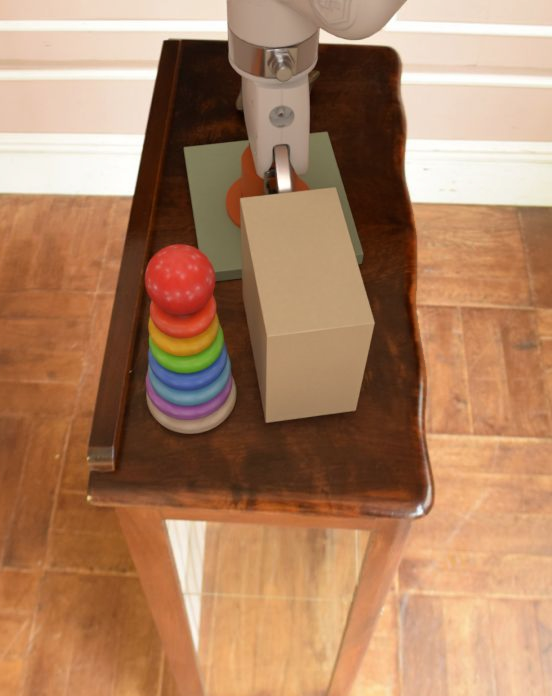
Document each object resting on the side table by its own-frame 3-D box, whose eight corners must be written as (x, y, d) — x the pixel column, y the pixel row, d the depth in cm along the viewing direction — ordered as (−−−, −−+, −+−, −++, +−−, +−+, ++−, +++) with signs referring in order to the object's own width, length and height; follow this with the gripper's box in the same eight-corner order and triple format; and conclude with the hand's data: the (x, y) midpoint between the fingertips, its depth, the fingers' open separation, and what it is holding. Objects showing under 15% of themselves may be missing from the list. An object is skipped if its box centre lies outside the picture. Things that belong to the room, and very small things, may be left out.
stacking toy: (228, 443, 67) (219, 313, 51) (138, 431, 68) (101, 298, 52) (243, 367, 71) (239, 225, 55) (158, 356, 72) (130, 212, 56)
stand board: (326, 141, 87) (327, 131, 86) (362, 263, 78) (363, 254, 76) (184, 157, 86) (183, 146, 85) (203, 283, 76) (202, 273, 75)
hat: (304, 169, 83) (307, 122, 77) (320, 231, 78) (325, 186, 73) (220, 178, 82) (218, 132, 77) (232, 242, 77) (230, 197, 72)
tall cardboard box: (326, 292, 76) (338, 186, 64) (357, 416, 68) (378, 322, 57) (242, 302, 75) (239, 197, 63) (265, 428, 68) (266, 336, 56)
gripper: (339, 104, 60) (323, 258, 75) (299, -24, 69) (291, 136, 84) (243, 114, 59) (246, 267, 74) (215, -17, 68) (222, 144, 83)
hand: (270, 196), depth 79 cm, fingers open, 6 cm apart
